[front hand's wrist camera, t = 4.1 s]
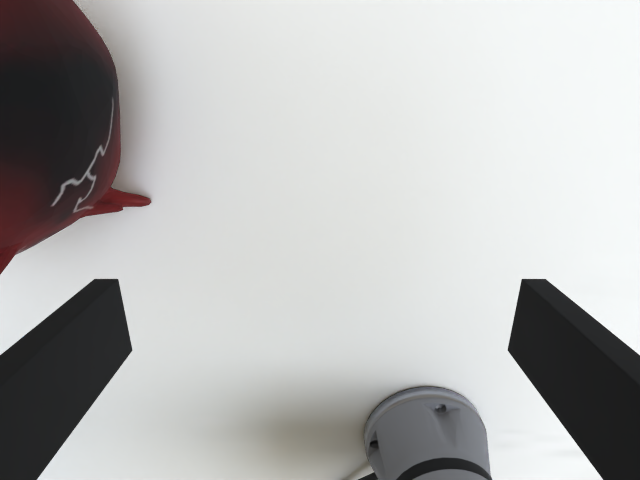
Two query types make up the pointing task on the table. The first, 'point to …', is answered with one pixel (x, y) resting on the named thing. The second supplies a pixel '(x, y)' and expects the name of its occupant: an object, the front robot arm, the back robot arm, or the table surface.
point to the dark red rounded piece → (55, 123)
